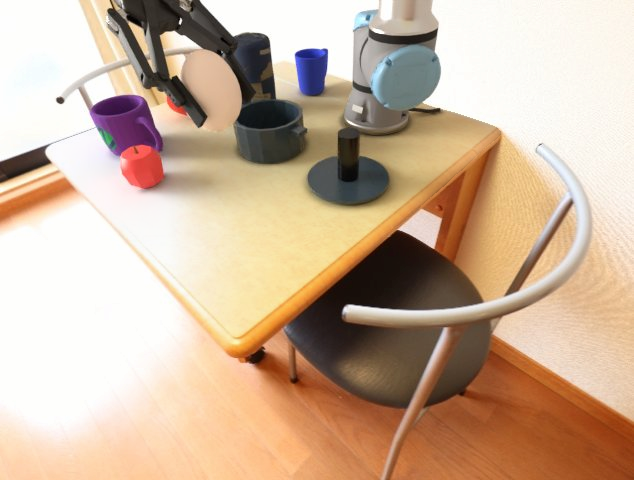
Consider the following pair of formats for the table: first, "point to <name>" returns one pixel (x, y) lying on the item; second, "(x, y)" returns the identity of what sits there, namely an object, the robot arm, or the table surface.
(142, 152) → the apple
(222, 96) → the egg
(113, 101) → the mug
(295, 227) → the table surface
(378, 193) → the lid
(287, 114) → the pot
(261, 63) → the canister
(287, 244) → the table surface
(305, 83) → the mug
